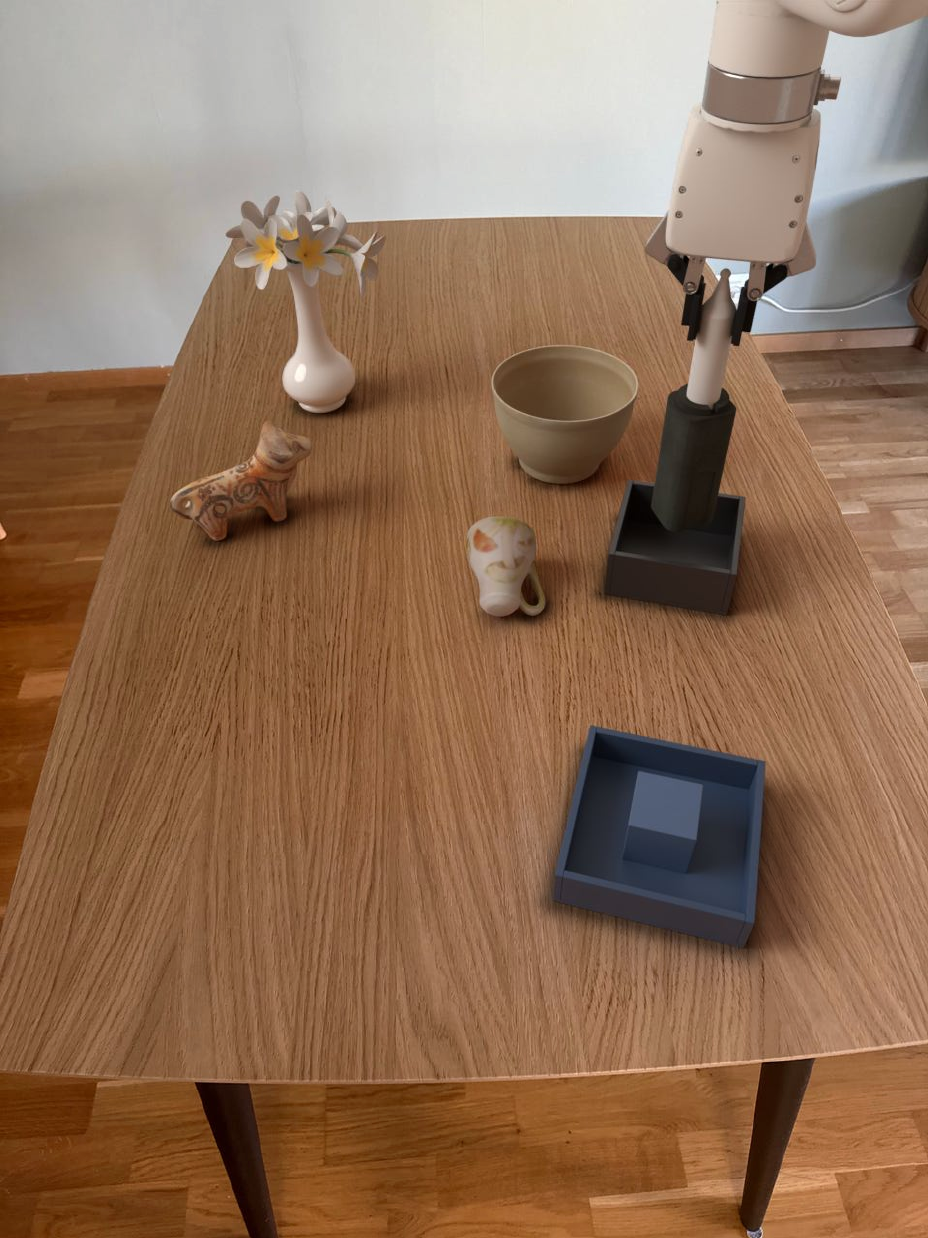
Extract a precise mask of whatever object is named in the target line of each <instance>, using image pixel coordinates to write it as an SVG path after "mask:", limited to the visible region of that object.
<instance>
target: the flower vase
mask: <svg viewBox="0 0 928 1238" xmlns="http://www.w3.org/2000/svg"><path fill="white" fill-rule="evenodd" d="M324 198H325V203H326V206H322V207H319V208H318V209H316V210H315V211H313V212H312V206H311V202H310V200H309V198H308V197H307V195H306V194H305V192H303V191H302V190H300V189H299V190H296V191H295V192H294V197H293V200H294V201H293V202H294V206H295V211H296V213H295V212H293V211H291V210H283V211H281V212H280V215H278V214H276V213H277V210H278V208H279V204H280V200H281V197H280V196H279V195H278V194H277V195H274V196H273V197H271V198H270V199H269V200H268V201H267V202H266V204H265V205H264V207H263V210H262V212H261V210H260V208H259V207H258V206H257V205H256V204H255V203H254V202H253V201H251V200H245V201H243V202H242V203H241V204H240V214H241V216H242V220H240V224H238V225H234V226H232V227H230V228H229V229H228V230H227V231H226V232H225V237H226V238H228V239H245V241H244V246H245V248H243V249H241V250H239V251H238V252H237V253H236V254H235V256H234V259H233V262H234V265H235V266H236V267H237V268H240V269H249V268H252V267H253V268H254V267H256V266H257V267H256V269H255V274H254V276H255V277H254V279H255V284H256V286H257V288H258V289H259V290H261V291H262V290H264V289H265V288H267V285H268V282H269V279H270V274H271V272H272V269H275V270H278V271H281V270H285V272H286V274H287V277H288V280H289V283H290V286H291V287H290V288H291V291H292V294H293V300H294V307H295V315H296V323H297V344H296V348H295V350H294V353H293V355H292V356H291V357H290V358H289V359H288V361H287V362H286V364H285V366H284V368H283V372H282V377H281V378H282V379H281V382H282V386H283V389H284V391H285V392H286V394H288V396H289V397H290V398H291V399H292V400H294V401H296V402H298V405H299V406H300V407H301V409H303V410H304V411H307V412H309V413H314V414H324V413H330V412H333V411H336V410H337V409H339V408H341V407H342V406H343V405H344V404H345V402H346V400H347V396H348V395H349V394H350V393H351V391H352V390H353V388H354V386H355V385H356V378H357V375H356V370H355V368H354V366H353V364H352V362H351V361H350V359H349V358H348V357H346V355H345V354H344V353H343V352H341V351H340V350H338V349H336V348H335V346H334V344H332V342H331V340H330V338H329V336H328V334H327V330H326V327H325V323H324V318H323V317H324V316H323V312H322V307H321V301H320V295H319V283H318V282H319V278H320V270H322V271H323V272H325V273H327V274H330V275H332V276H342V275H343V274H344V271H345V270H344V266H343V264H342V263H341V262H340V261H339V259H337V258H336V256H334V255H331V254H339V255H344V256H346V257H348V258H351V259H352V261H353V264H354V267H355V271H356V275H357V279H358V285H359V291H360V296H361V299H364V297H365V293H366V290H367V278H368V279H369V280H370V281H371V282H372V281H373V282H375V281H376V280H377V279H378V276H379V265H378V263H377V262H376V261H375V260H374V259H373V258H374V257H376V256H377V255H378V254H379V253H380V252H381V251H382V249H383V247H384V246H385V243H386V242H387V241H386V240H387V236H386V235H383V236H381V237H379V238H378V235H379V234H378V233H379V231H378V230H376V231H375V232H374V233H373V234H372V236H371V237H370V238H369V240H368V241H366V243H364V244H362V243H361V241H359V240H358V239H357V238H356V237H355V236H353V235H351V234H347V232H348V228H349V225H348V222H347V219H346V217H345V216H344V214H343V213H342V211H341V210H336V208H335V207H333V206H332V204H331V203H330V200H329V199H328V197H327V196H325V197H324ZM328 225H329V227H327V226H328ZM377 238H378V239H377ZM278 241H279V242H278ZM280 242H281V243H283V244H284V245H282V244H281V243H280ZM339 245H340V246H344V247H346V248H349V249H351V250H354V251H355V252H354V253H353V252H350V251H348V250H344V249H338V248H333V247H336V246H339ZM278 247H279V248H280V249H282V250H280V249H279V248H278Z"/></svg>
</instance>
